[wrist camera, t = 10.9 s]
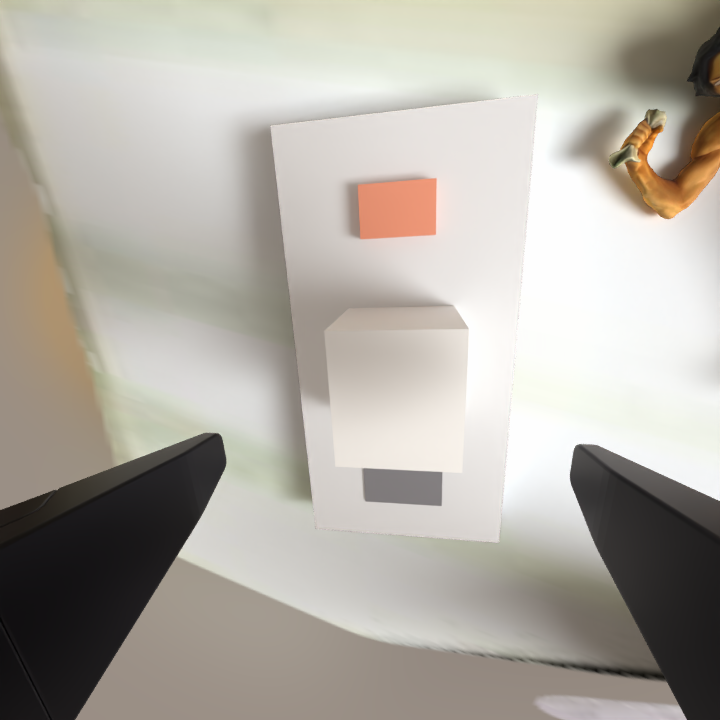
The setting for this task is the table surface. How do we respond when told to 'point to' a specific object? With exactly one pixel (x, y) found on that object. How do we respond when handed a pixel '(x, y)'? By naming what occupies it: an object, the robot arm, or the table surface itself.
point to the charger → (398, 387)
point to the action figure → (709, 151)
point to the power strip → (410, 286)
